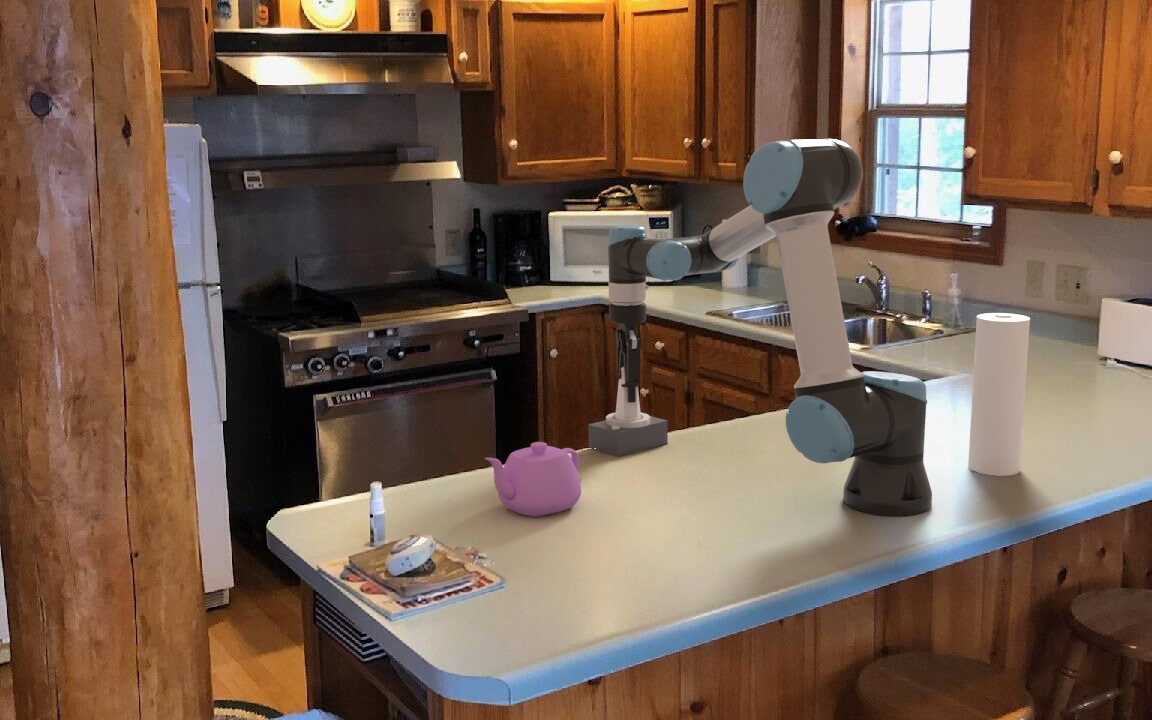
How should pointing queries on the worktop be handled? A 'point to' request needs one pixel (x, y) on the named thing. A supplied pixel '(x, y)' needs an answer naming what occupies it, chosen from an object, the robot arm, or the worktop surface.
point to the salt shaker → (620, 402)
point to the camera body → (627, 434)
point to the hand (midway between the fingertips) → (628, 413)
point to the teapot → (538, 480)
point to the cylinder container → (998, 393)
